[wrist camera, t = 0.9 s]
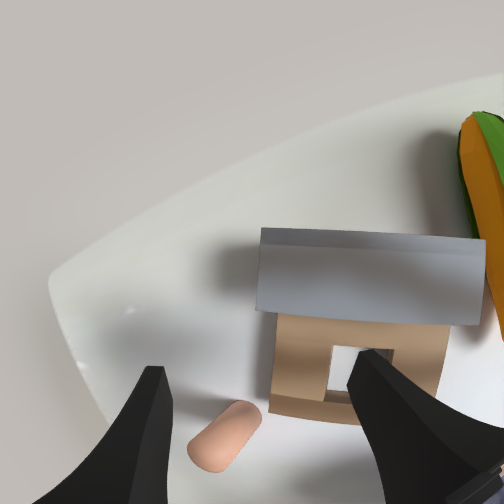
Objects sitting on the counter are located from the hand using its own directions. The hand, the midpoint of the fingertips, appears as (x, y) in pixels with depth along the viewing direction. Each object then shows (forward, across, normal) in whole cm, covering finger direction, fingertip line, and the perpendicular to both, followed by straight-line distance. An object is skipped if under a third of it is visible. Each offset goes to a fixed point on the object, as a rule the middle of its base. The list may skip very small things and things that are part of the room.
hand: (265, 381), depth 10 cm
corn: (+8, -22, -3) cm, 24 cm away
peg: (+9, 0, +17) cm, 20 cm away
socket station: (+9, -10, +7) cm, 16 cm away
